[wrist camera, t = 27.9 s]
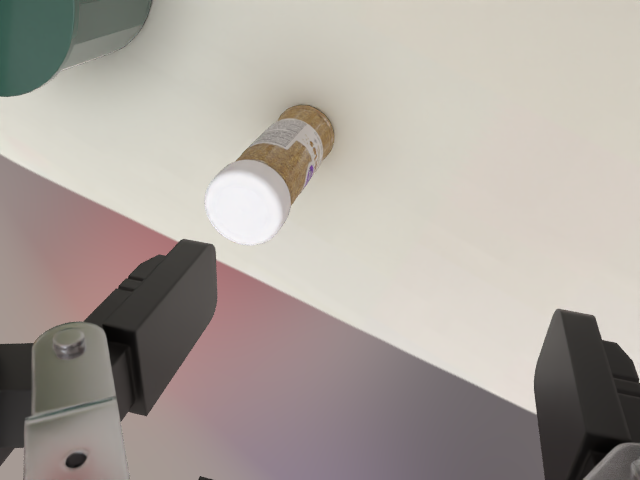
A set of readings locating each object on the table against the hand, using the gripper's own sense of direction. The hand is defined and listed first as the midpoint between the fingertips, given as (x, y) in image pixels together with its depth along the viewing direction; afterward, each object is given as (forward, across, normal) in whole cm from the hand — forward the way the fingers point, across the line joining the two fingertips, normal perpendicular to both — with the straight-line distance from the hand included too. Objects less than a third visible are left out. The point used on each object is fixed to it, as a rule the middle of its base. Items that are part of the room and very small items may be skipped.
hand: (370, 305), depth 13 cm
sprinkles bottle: (+28, +9, +6) cm, 30 cm away
